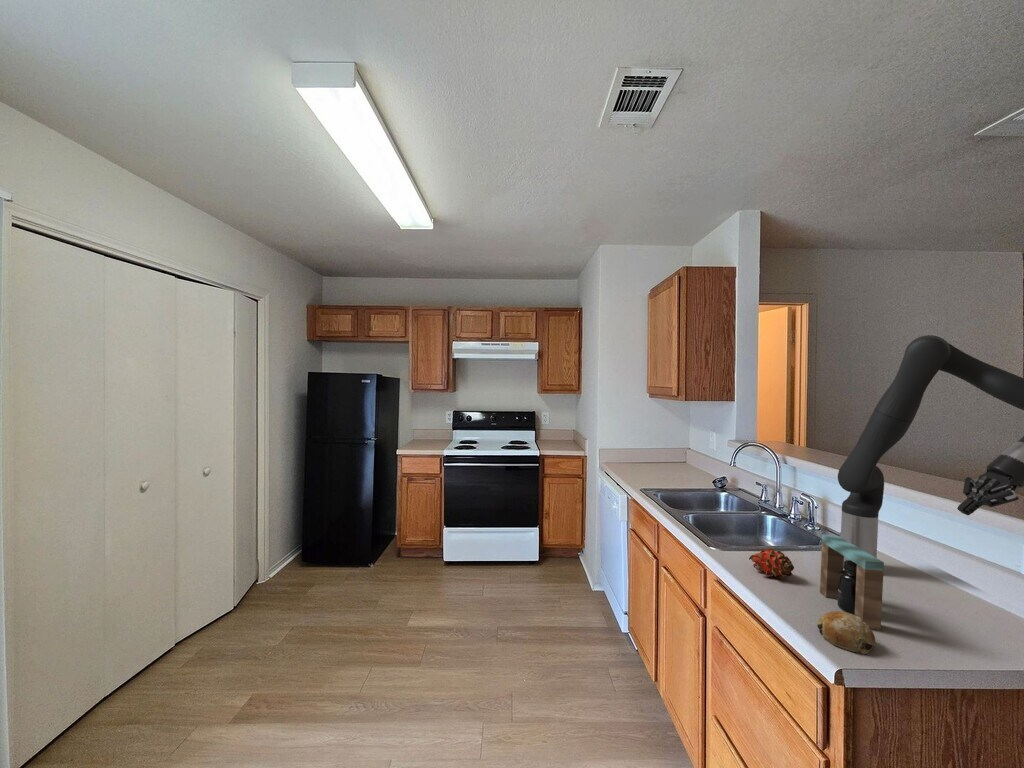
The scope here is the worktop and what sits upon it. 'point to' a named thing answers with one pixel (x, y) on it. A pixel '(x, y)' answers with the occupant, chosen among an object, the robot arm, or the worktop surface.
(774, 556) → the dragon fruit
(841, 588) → the supplement bottle
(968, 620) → the worktop surface
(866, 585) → the gate
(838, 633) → the bread roll
